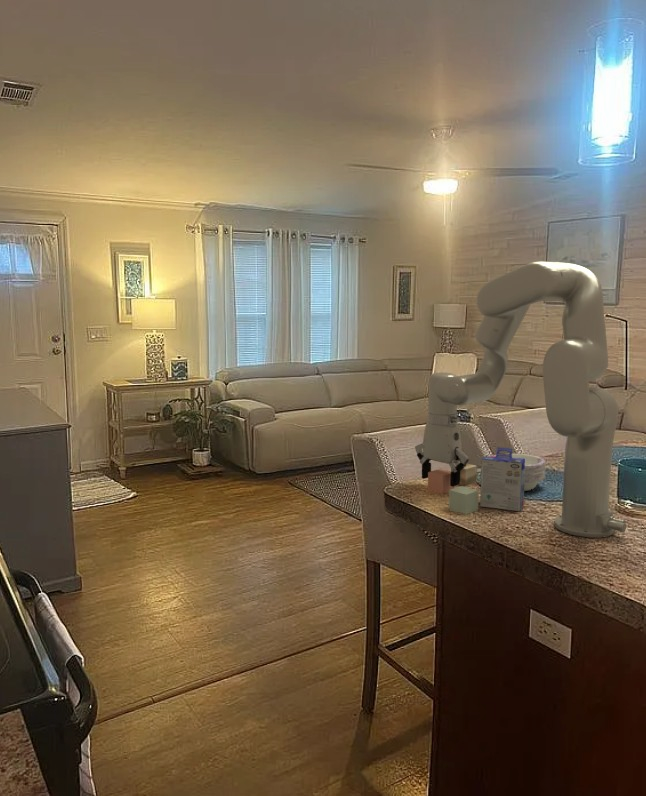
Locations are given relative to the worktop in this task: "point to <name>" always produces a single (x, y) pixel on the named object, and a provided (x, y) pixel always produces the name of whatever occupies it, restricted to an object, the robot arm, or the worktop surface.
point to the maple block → (468, 475)
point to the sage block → (463, 499)
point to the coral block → (439, 481)
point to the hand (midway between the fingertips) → (440, 481)
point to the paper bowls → (532, 470)
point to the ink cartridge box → (502, 481)
